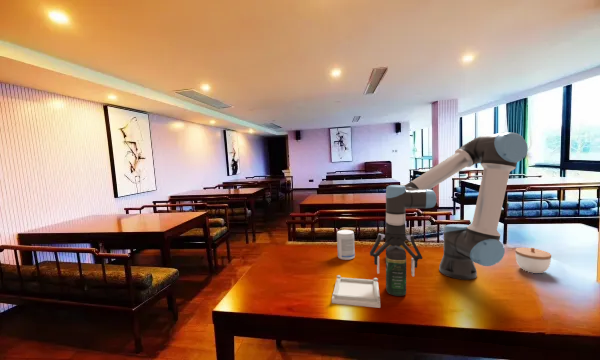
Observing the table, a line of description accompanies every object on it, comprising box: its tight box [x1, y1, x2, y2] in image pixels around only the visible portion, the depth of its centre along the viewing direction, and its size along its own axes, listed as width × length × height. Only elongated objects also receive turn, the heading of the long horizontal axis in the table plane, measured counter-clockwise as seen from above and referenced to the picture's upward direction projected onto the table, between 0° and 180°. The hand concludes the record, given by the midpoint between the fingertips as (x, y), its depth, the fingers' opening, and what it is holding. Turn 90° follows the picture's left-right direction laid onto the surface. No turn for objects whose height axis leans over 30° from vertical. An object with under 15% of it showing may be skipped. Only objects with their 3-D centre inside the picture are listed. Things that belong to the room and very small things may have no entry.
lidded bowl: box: [514, 247, 552, 274], centre depth 123 cm, size 13×13×11 cm
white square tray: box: [331, 274, 381, 309], centre depth 108 cm, size 18×18×3 cm
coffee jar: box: [385, 245, 407, 297], centre depth 108 cm, size 10×8×19 cm
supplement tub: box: [336, 229, 356, 261], centre depth 148 cm, size 10×10×15 cm
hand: (395, 273), depth 108 cm, fingers open, 13 cm apart
